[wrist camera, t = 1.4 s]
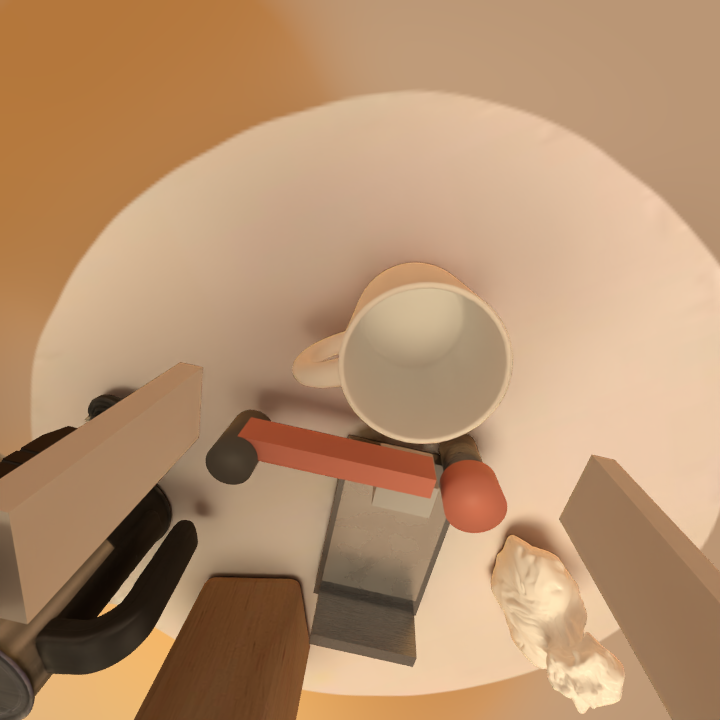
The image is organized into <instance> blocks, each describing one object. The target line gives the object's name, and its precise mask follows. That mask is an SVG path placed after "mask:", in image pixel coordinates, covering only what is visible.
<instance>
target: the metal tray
mask: <svg viewBox="0 0 720 720" xmlns="http://www.w3.org/2000/svg"><path fill="white" fill-rule="evenodd" d="M348 439H352V440H357V441H361V442H366V443H370V444H375V445H379V446H380V445H381V443H383V442H379V441H374V440H370V439H365V438H361V437H356V436H352V435H349V436H348ZM385 444H388V443H385ZM389 445H392V444H389ZM394 446H397V445H394ZM398 447H401V446H398ZM403 448H406V447H403ZM407 449H410V448H407ZM412 450H415V449H412ZM416 451H419V450H416ZM421 452H424V451H421ZM439 452H440V455H437V454H433V453H430V454H433V459H434V465H435V470H436V476H437V481H438V487H439V490H438V493H437V496H436V499H435V502H434V505H433V508H432V511H431V514H430V516H429V518H425V517H421V516H416V515H412V514H407V513H403V512H398V511H394V510H389V509H385V508H380V507H376V506H372V492H373V486H370V485H366V484H361V483H357V482H352V481H348V480H343V479H339V481H338V485H337V490H336V494H335V498H334V503H333V507H332V512H331V516H330V521H329V525H328V530H327V534H326V539H325V543H324V547H323V552H322V556H321V561H320V565H319V570H318V574H317V579H316V583H315V588H314V593H316V594H318V599H317V604H316V610H315V615H314V620H313V625H312V630H311V635H310V640H309V644H313V645H317V646H322V647H326V648H331V649H335V650H340V651H344V652H349V653H353V654H358V655H362V656H367V657H371V658H375V659H380V660H384V661H389V662H393V663H398V664H402V665H407V666H411V667H413V665H414V663H415V660H416V642H415V625H414V615H416V613H417V610H418V607H419V605H420V602H421V599H422V597H423V594H424V591H425V589H426V586H427V583H428V581H429V578H430V575H431V573H432V570H433V567H434V564H435V562H436V559H437V556H438V554H439V551H440V548H441V546H442V543H443V540H444V538H445V535H446V532H447V530H448V527H449V524H450V523H449V521H448V520H447V518H446V516H445V513H444V508H443V502H442V497H441V491H440V485H439V483H440V478H441V475H442V473H443V472H444V471H445V469H447V468H448V467H449V466H450V465H452V464H454V463H456V462H459V461H463V460H475V461H479V462H482V459H481V457H480V454H479V451H478V449H477V446H476V444H475V441H474V440H473V438H472V437H471V436H469V435H467V434H463V435H461V436H459V437H456V438H454V439H451V440H447V441H443V442H440V445H439ZM425 453H428V452H425ZM482 463H483V462H482Z"/></svg>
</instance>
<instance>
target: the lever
mask: <svg viewBox="0 0 720 720" xmlns="http://www.w3.org/2000/svg"><path fill="white" fill-rule="evenodd" d="M258 461H262V462H267V463H271V464H276V465H280V466H285V467H289V468H294V469H298V470H303V471H307V472H312V473H316V474H321V475H325V476H330V477H334V478H339V479H343V480H348V481H352V482H357V483H361V484H366V485H370V486H373V492H372V506H376V507H380V508H385V509H389V510H394V511H398V512H403V513H407V514H412V515H416V516H421V517H425V518H429V516H430V514H431V511H432V508H433V505H434V502H435V499H436V496H437V493H438V490H439V487H438V481H437V476H436V470H435V465H434V459H433V454H430V453H425V452H421V451H416V450H412V449H407V448H403V447H398V446H394V445H389V444H385V443H381V445H380V446H379V445H375V444H370V443H366V442H361V441H357V440H352V439H348V438H343V437H339V436H334V435H330V434H325V433H321V432H316V431H311V430H307V429H302V428H298V427H293V426H289V425H284V424H280V423H275V422H271V420H270V419H269V418H268V417H267V416H266V415H265V414H263V413H262V412H259V411H256V410H246V411H243V412H241V413H240V414H239V415H238V416H237V417H236V418H235V419H234V421H233V422H232V423H231V424H230V426H229V427H228V428H227V429H226V431H225V432H224V433H223V434H222V436H221V437H220V438H219V439H218V441H217V442H216V443H215V444H214V445H213V447H212V448H211V449H210V450H209V452H208V453H207V456H206V466H207V469H208V471H209V472H210V474H211V475H212V476H213V477H214V478H216V479H217V480H219V481H220V482H223V483H226V484H231V485H235V484H240V483H243V482H245V481H246V480H247V479H248V478H249V477H250V476H251V474H252V472H253V470H254V469H255V467H256V465H257V463H258ZM439 485H440V491H441V497H442V502H443V508H444V513H445V516H446V518H447V520H448V521H449V523H450V524H451V525H452V526H454V527H455V528H457V529H459V530H461V531H464V532H469V533H480V532H485V531H488V530H490V529H493V528H494V527H496V526H497V525H498V524H500V523H501V522H502V520H503V519H504V517H505V515H506V512H507V502H506V499H505V497H504V495H503V492H502V490H501V487H500V485H499V483H498V480H497V478H496V475H495V473H494V472H493V470H492V469H491V468H490V467H489V466H488V465H486V464H484V463H482V462H479V461H475V460H463V461H459V462H456V463H454V464H452V465H450V466H449V467H448V468H447V469H445V471H444V472H443V473H442V475H441V478H440V483H439Z"/></svg>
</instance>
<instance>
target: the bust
mask: <svg viewBox="0 0 720 720" xmlns="http://www.w3.org/2000/svg"><path fill="white" fill-rule="evenodd" d="M491 589H492V592H493V594H494V596H495V598H496V600H497V601H498V603H499V605H500V606H501V608H502V609H503V610H504V614H505V618H506V622H507V624H508V627H509V630H510V634H511V638H512V640H513V641H514V643H515V645H516V646H517V647H518V648H519V649H520V651H521V652H522V653H523V654H524V656H525V657H526V658H527V659H528V660H529V661H530V662H531V663H532V664H533V665H534V666H536V667H539V668H541V669H547V675H548V680H549V682H550V684H551V685H552V687H553V689H554V690H556V691H559V692H561V693H562V694H563V695H564V696H565V697H568V698H571V699H572V701H573V702H574V704H575V706H576V708H577V710H578V712H579V713H582V714H583V713H585V712H586V710H587V709H588V708H589V707H592V708H593V709H595V708H596V706H598V707H601V705H602V706H605V705H608V704H614V703H615V702H618V701H619V700H620V699H621V696H622V685H623V682H624V679H625V671H624V667H623V665H622V663H621V662H620V661H619V660H618V659H617V658H616V656H614V655H613V654H612V653H611V652H609V651H608V650H607V649H606V648H604V647H603V646H602V645H601V644H600V643H599V642H598V641H597V640H596V639H595V638H594V637H593V636H592V635H591V634H590V633H589V632H586V633H585V635H584V631H583V630H584V627H585V625H586V620H587V613H586V609H585V607H584V603H583V600H582V599H581V596H580V595H579V588H578V585H577V583H576V582H575V581H574V580H573V579H572V577H571V575H570V574H569V572H568V571H567V570H566V568H565V567H564V565H563V563H562V562H561V561H560V559H559V558H558V557H557V556H556V555H554V554H552V553H551V552H549V551H546V550H543V549H539V548H537V547H533V546H531V545H530V544H529V543H527V542H525V541H523V540H522V539H520V538H519V537H517V536H515V535H510V536H509V537H508V538H507V540H506V543H505V545H504V548H503V550H502V551H501V552H500V553H499V554H498V555H497V557H496V564H495V567H494V570H493V575H492V578H491Z"/></svg>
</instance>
